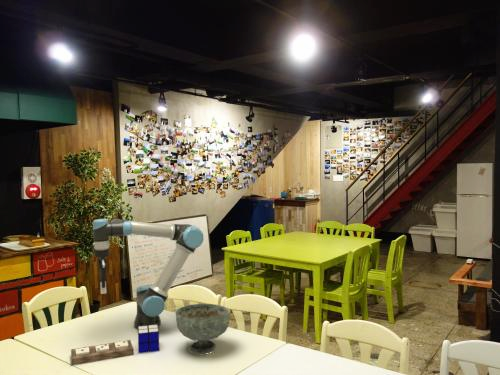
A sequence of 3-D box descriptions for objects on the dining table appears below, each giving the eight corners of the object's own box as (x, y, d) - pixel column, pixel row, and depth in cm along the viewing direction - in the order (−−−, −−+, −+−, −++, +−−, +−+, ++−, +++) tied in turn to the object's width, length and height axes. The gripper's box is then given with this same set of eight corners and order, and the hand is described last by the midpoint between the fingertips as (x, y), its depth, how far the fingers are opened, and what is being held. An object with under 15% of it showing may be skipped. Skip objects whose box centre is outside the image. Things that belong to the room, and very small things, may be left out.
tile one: (89, 352, 209) (88, 346, 209) (89, 357, 203) (89, 351, 203) (75, 354, 206) (75, 348, 206) (75, 359, 201) (75, 353, 201)
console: (130, 345, 219) (130, 339, 219) (133, 354, 208) (133, 348, 208) (71, 355, 208) (71, 349, 208) (71, 365, 197) (71, 359, 197)
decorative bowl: (165, 355, 206) (166, 314, 206) (188, 336, 231) (189, 299, 230) (216, 364, 198) (218, 321, 198) (234, 343, 223) (236, 305, 222)
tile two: (127, 346, 216) (126, 340, 216) (128, 350, 210) (128, 344, 210) (114, 348, 213) (114, 342, 213) (115, 352, 208) (115, 346, 208)
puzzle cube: (138, 353, 210) (138, 333, 209) (138, 345, 219) (137, 326, 219) (159, 351, 212) (158, 331, 212) (158, 343, 222) (157, 324, 222)
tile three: (108, 349, 212) (108, 343, 212) (109, 354, 207) (109, 348, 207) (95, 351, 210) (95, 345, 210) (96, 356, 204) (96, 350, 204)
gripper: (92, 247, 228) (94, 291, 229) (95, 251, 216) (97, 297, 217) (107, 246, 231) (109, 289, 232) (110, 250, 219) (112, 295, 221)
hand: (103, 293), depth 225 cm, fingers closed
